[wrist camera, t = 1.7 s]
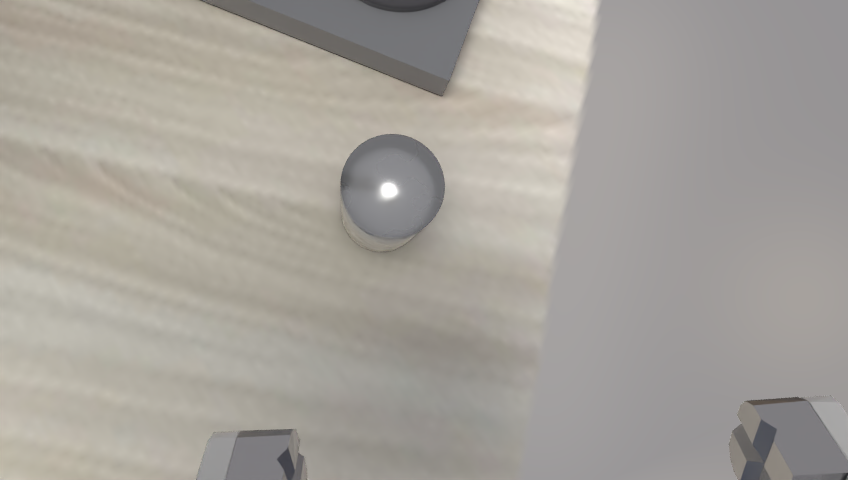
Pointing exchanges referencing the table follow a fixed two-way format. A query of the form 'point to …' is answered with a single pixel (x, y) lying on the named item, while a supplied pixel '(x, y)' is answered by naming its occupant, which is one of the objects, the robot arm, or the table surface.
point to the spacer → (390, 191)
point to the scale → (374, 32)
